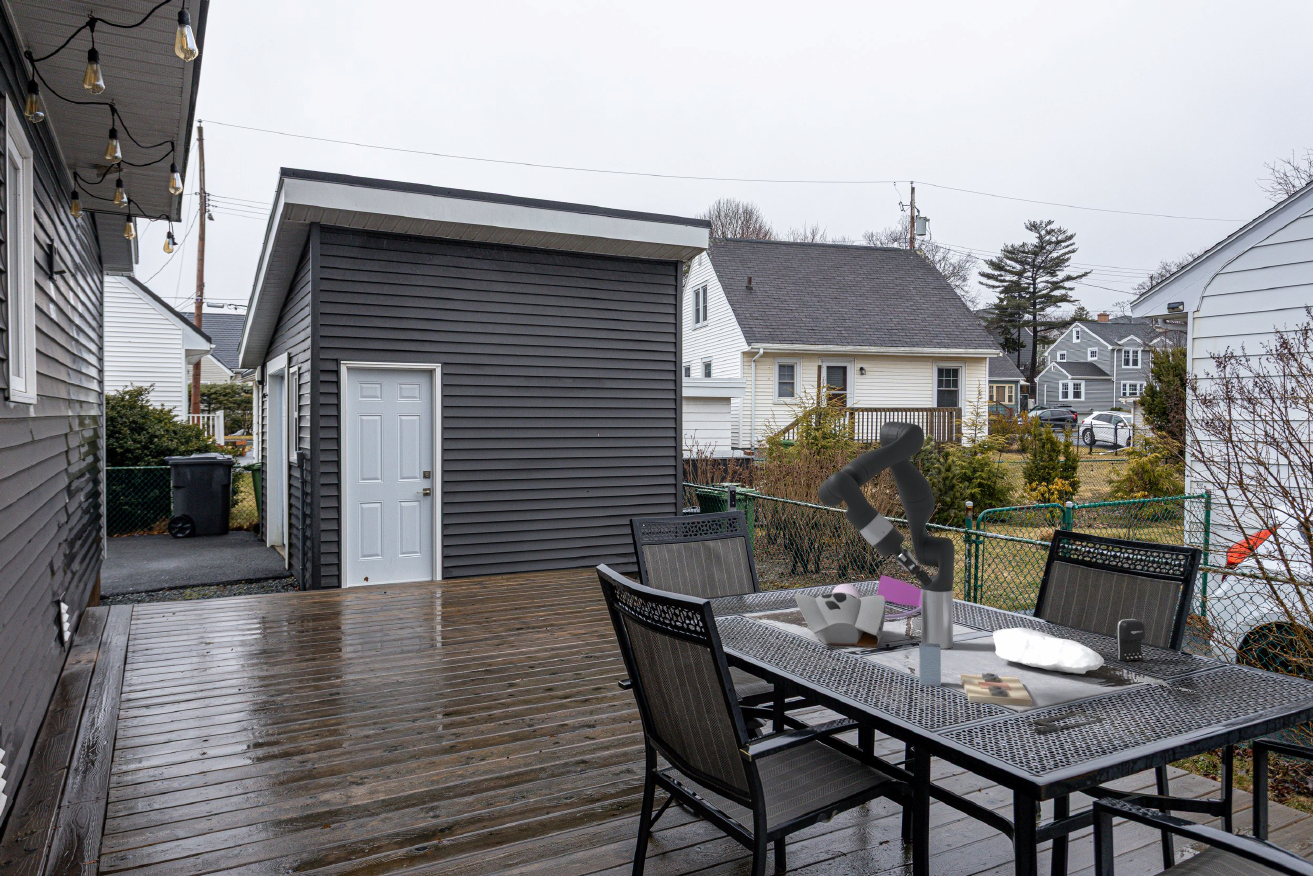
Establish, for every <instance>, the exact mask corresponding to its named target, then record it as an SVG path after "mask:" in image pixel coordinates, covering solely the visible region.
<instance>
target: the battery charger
mask: <svg viewBox="0 0 1313 876" xmlns="http://www.w3.org/2000/svg"><path fill="white" fill-rule="evenodd" d="M1145 625H1146V624H1145V623H1144V622H1143V621H1141V620H1138V619H1135V618H1127V619H1120V620H1118V622H1117V624H1116V645H1117V648H1116V649H1117V650H1116V651H1117V652H1116V653H1117V657H1116V658H1117V659H1118V660H1120V661H1123V662H1132V661H1131V660H1140V661H1143V660H1144V656H1143V653H1142V642H1143V640H1146V627H1145ZM1142 659H1143V660H1142Z"/></svg>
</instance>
